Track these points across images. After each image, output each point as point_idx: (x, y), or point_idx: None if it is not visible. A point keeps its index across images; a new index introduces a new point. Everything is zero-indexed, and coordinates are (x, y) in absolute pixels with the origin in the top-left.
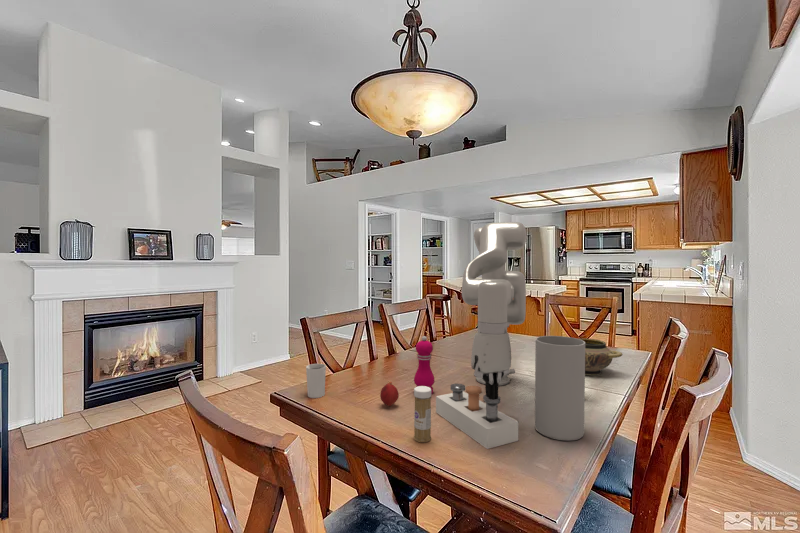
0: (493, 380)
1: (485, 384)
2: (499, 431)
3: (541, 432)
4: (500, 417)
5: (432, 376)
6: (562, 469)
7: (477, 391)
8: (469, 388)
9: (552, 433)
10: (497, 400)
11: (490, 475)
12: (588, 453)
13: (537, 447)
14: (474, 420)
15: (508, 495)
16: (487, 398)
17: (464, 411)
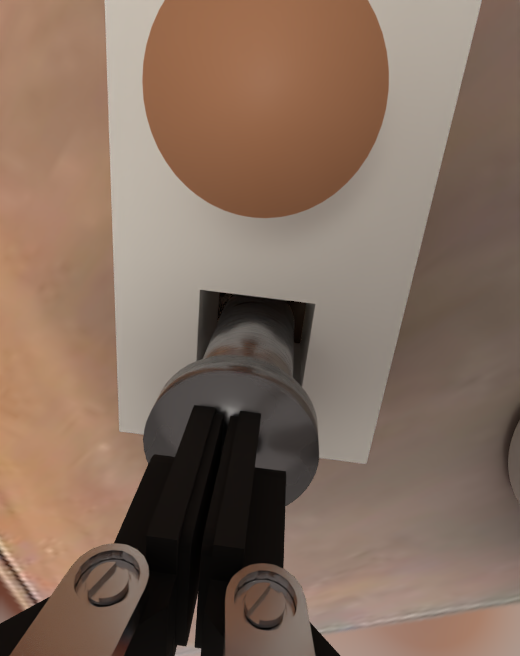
0: (202, 652)
1: (117, 536)
2: None
3: (515, 431)
4: (320, 368)
5: None
6: (303, 591)
7: (237, 212)
8: (197, 65)
9: (517, 495)
10: None
11: (44, 496)
12: (498, 591)
13: (373, 474)
14: (118, 307)
15: (36, 576)
16: (166, 449)
17: (147, 127)
